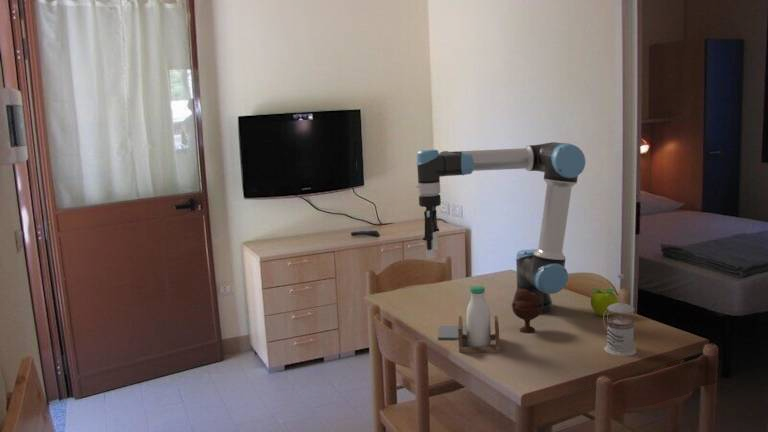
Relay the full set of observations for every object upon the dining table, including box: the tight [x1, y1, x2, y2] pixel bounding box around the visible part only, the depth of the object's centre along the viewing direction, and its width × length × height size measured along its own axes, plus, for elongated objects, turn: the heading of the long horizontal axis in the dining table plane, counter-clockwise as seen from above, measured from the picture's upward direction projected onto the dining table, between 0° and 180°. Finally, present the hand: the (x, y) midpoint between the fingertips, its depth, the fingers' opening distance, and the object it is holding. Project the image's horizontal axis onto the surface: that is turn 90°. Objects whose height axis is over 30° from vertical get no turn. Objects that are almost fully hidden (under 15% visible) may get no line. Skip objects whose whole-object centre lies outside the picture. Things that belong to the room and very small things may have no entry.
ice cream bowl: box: [510, 289, 543, 334], centre depth 222 cm, size 11×11×15 cm
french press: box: [602, 273, 637, 357], centre depth 201 cm, size 10×12×25 cm
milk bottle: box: [466, 285, 492, 347], centre depth 211 cm, size 8×8×20 cm
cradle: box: [457, 315, 500, 354], centre depth 212 cm, size 13×13×8 cm
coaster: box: [437, 325, 467, 341], centre depth 224 cm, size 12×12×1 cm
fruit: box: [590, 288, 618, 317], centre depth 235 cm, size 9×9×10 cm
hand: (432, 254), depth 225 cm, fingers open, 13 cm apart
